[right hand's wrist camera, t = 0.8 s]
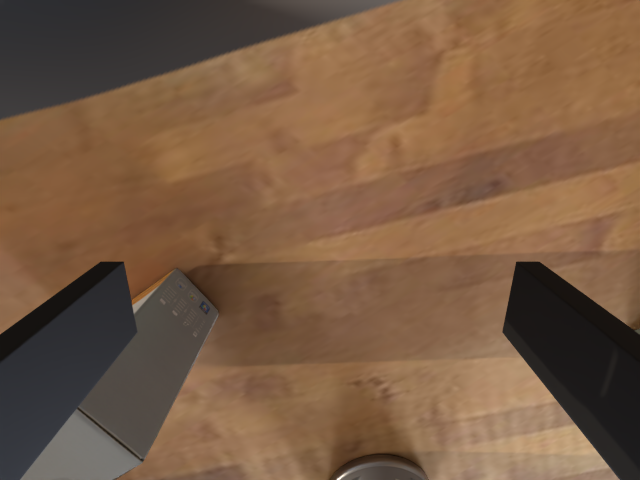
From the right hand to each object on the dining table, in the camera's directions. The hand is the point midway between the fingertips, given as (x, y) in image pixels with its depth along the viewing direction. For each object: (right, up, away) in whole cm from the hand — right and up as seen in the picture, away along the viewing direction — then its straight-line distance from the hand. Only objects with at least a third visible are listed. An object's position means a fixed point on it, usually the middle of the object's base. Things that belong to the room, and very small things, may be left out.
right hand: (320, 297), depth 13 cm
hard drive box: (-20, -8, +32) cm, 39 cm away
